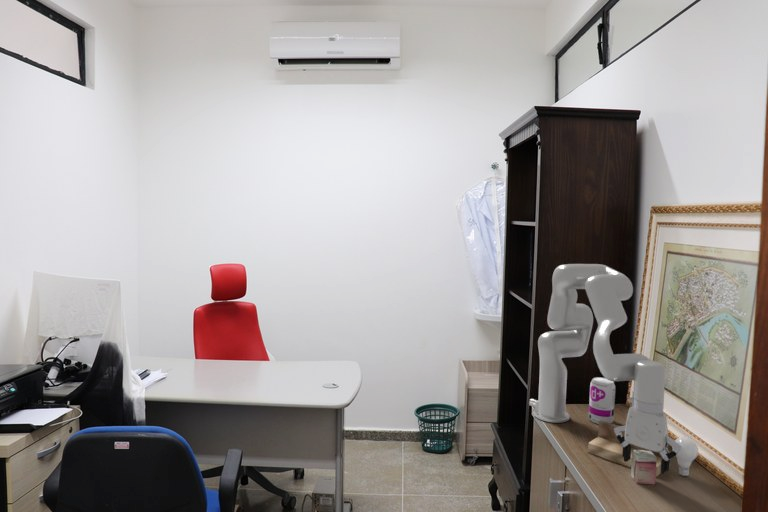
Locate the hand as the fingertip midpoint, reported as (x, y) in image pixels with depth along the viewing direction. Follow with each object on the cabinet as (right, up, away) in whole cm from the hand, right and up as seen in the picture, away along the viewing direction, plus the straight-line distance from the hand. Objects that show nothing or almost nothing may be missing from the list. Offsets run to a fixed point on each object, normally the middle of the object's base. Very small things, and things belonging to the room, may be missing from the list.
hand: (645, 466), depth 141 cm
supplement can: (+6, -1, +42) cm, 43 cm away
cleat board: (+1, -3, +13) cm, 13 cm away
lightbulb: (+13, -5, +4) cm, 14 cm away
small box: (0, -5, +1) cm, 5 cm away
